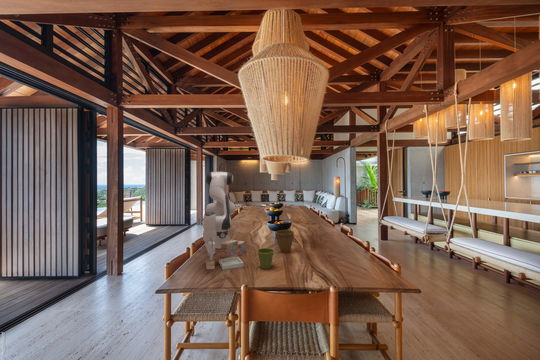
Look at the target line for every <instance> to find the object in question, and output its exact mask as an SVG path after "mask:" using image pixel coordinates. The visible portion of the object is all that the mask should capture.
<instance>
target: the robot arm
mask: <svg viewBox="0 0 540 360" xmlns="http://www.w3.org/2000/svg"><path fill="white" fill-rule="evenodd" d="M205 181H206V184H208V185H209V190H208V191H209V192H208V193H209V197H210V199H212V200H214V201H216V202H211V203H208V204H207V205H206V207H205V212H206V213H204V214H203V218H202V228H203V231H202V232H203V233H202V240H203V241H204V247H205V249H206V252H207V256H209V260H214V255H215V254H216V249H219V250H221V243H224V242H227V241H230V240H231V237H230V235H229V229H230V228H231V227H232V224H233V221H232V216H231V215H233V214H235V212H236V209H237V208H236V204H235V203H234V202H232V201H231V200H230V199H229V196H228V186H230V185H232V184H233V182H234V175H233V173H232V172H227V171H226V172H225V171H209V172H207V173H206V175H205Z"/></svg>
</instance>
